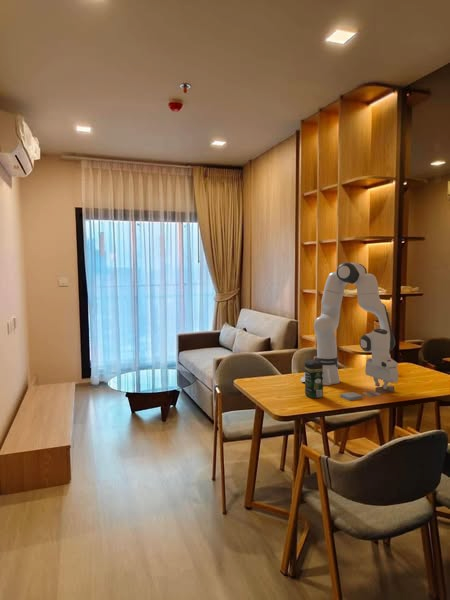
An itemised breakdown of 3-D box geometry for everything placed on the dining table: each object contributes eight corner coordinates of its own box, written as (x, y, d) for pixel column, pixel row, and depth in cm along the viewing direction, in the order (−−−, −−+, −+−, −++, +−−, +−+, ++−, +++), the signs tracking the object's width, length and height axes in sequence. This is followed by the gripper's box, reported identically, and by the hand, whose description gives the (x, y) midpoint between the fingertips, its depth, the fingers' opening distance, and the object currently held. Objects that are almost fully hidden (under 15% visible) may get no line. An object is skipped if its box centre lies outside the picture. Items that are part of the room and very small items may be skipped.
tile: (353, 392, 208) (340, 394, 205) (362, 395, 201) (349, 397, 199) (353, 395, 208) (340, 397, 205) (362, 399, 202) (349, 401, 199)
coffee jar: (302, 394, 212) (302, 359, 211) (316, 392, 214) (315, 357, 213) (311, 399, 202) (310, 362, 201) (325, 397, 204) (325, 361, 203)
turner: (388, 390, 215) (388, 384, 215) (396, 392, 210) (396, 387, 210) (362, 394, 209) (362, 388, 209) (370, 397, 204) (370, 391, 204)
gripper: (362, 357, 218) (362, 383, 218) (390, 365, 199) (390, 393, 199) (371, 356, 220) (372, 382, 221) (400, 363, 201) (400, 391, 202)
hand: (381, 387), depth 210 cm, fingers open, 4 cm apart
